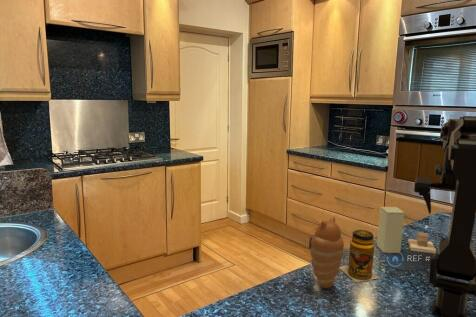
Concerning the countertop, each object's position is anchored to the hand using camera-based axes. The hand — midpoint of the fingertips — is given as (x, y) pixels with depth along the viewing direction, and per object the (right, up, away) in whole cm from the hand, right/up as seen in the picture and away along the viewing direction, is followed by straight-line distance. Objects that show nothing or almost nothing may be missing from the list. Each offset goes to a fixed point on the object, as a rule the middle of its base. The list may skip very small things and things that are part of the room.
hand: (447, 215), depth 102 cm
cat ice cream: (-38, -16, -12) cm, 43 cm away
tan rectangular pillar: (-13, -12, +11) cm, 21 cm away
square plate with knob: (-1, -12, +12) cm, 17 cm away
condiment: (-27, -15, -4) cm, 31 cm away
